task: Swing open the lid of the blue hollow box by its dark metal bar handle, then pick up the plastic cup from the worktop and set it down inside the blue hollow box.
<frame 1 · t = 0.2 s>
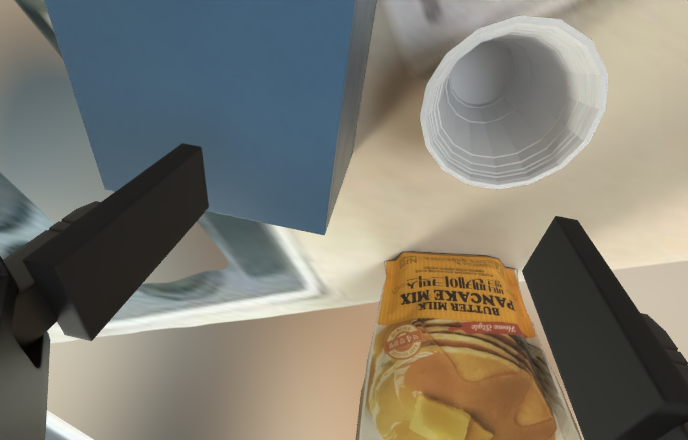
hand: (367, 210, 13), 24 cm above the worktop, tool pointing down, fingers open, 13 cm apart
blue hollow box: (275, 48, 33), on the worktop
plastic cup: (478, 72, 32), on the worktop
lid: (174, 93, 19), point 17 cm above the worktop, hinge at 0.0°
pancake mix bag: (447, 269, 45), on the worktop
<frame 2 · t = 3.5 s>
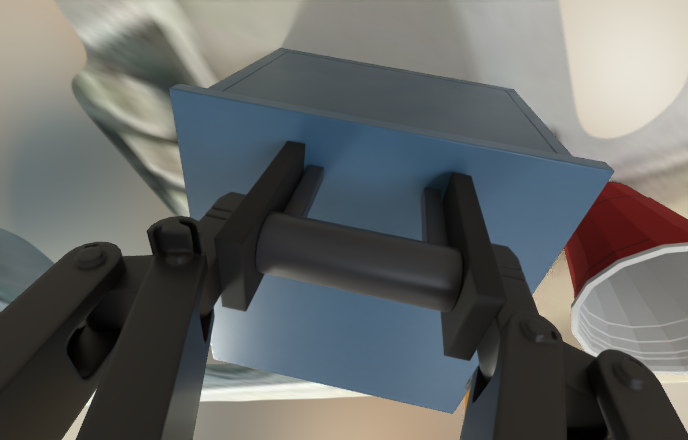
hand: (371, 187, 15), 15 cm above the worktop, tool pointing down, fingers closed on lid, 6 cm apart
blue hollow box: (372, 177, 31), on the worktop
plastic cup: (592, 208, 30), on the worktop
lid: (341, 335, 17), point 17 cm above the worktop, hinge at -0.1°, touching gripper
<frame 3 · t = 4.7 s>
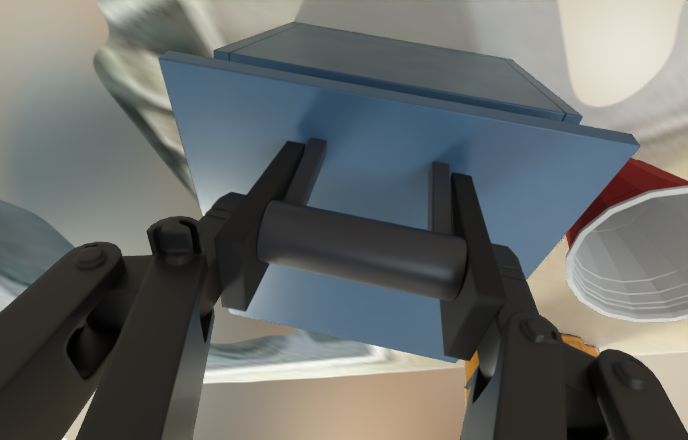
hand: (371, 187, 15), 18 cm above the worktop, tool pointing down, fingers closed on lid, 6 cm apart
blue hollow box: (378, 148, 33), on the worktop
plastic cup: (587, 176, 31), on the worktop
lid: (348, 302, 18), point 19 cm above the worktop, hinge at 10.6°, touching gripper
pancake mix bag: (524, 344, 45), on the worktop
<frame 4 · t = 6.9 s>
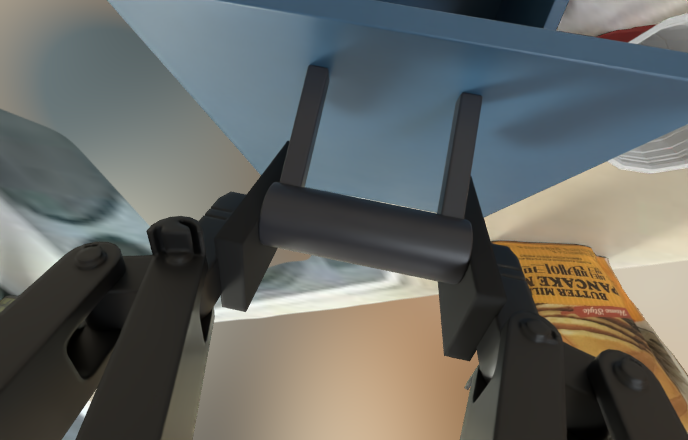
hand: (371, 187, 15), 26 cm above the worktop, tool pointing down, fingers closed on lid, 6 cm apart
blue hollow box: (400, 41, 34), on the worktop
plastic cup: (600, 64, 33), on the worktop
lid: (367, 205, 18), point 23 cm above the worktop, hinge at 45.0°, touching gripper
olive green rough post: (24, 308, 75), on the worktop
pancake mix bag: (535, 258, 46), on the worktop
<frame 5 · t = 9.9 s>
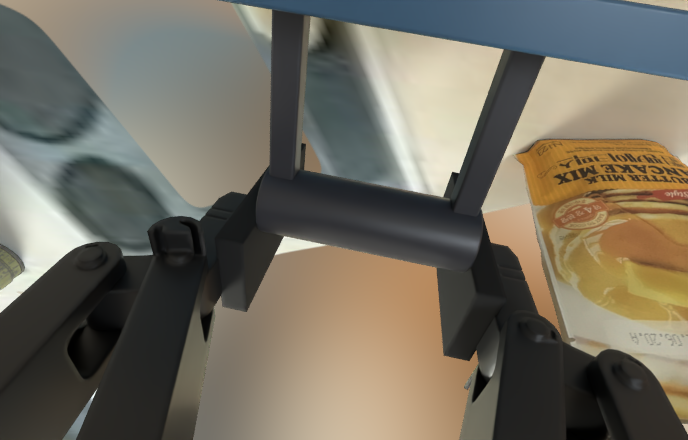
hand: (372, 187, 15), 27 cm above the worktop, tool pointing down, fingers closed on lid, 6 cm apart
lid: (393, 80, 15), point 24 cm above the worktop, hinge at 87.6°, touching gripper
olive green rough post: (2, 257, 68), on the worktop
pancake mix bag: (587, 163, 39), on the worktop
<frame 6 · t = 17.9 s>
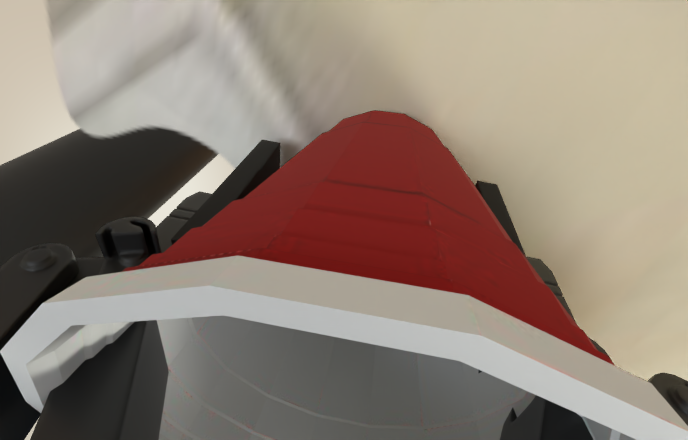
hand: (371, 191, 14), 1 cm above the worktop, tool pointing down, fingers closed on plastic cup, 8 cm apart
plastic cup: (379, 176, 16), on the worktop, touching gripper
when the fingers open (6 cm above the worktop, at t = 28.6 s): plastic cup drops 2 cm, resting on blue hollow box.
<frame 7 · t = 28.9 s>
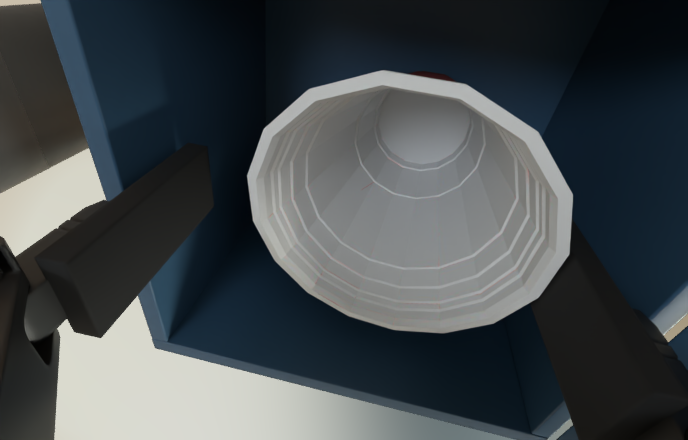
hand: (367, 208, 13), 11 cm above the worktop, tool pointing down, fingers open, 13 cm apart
blue hollow box: (397, 117, 22), on the worktop
plastic cup: (421, 124, 21), point 1 cm above the worktop, touching blue hollow box
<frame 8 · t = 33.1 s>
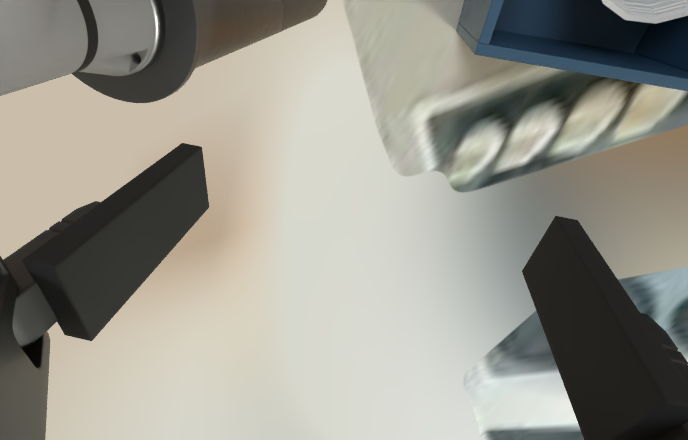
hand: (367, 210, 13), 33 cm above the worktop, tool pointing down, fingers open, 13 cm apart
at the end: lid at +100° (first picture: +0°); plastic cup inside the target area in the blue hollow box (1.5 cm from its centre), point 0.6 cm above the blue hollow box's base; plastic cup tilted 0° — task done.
